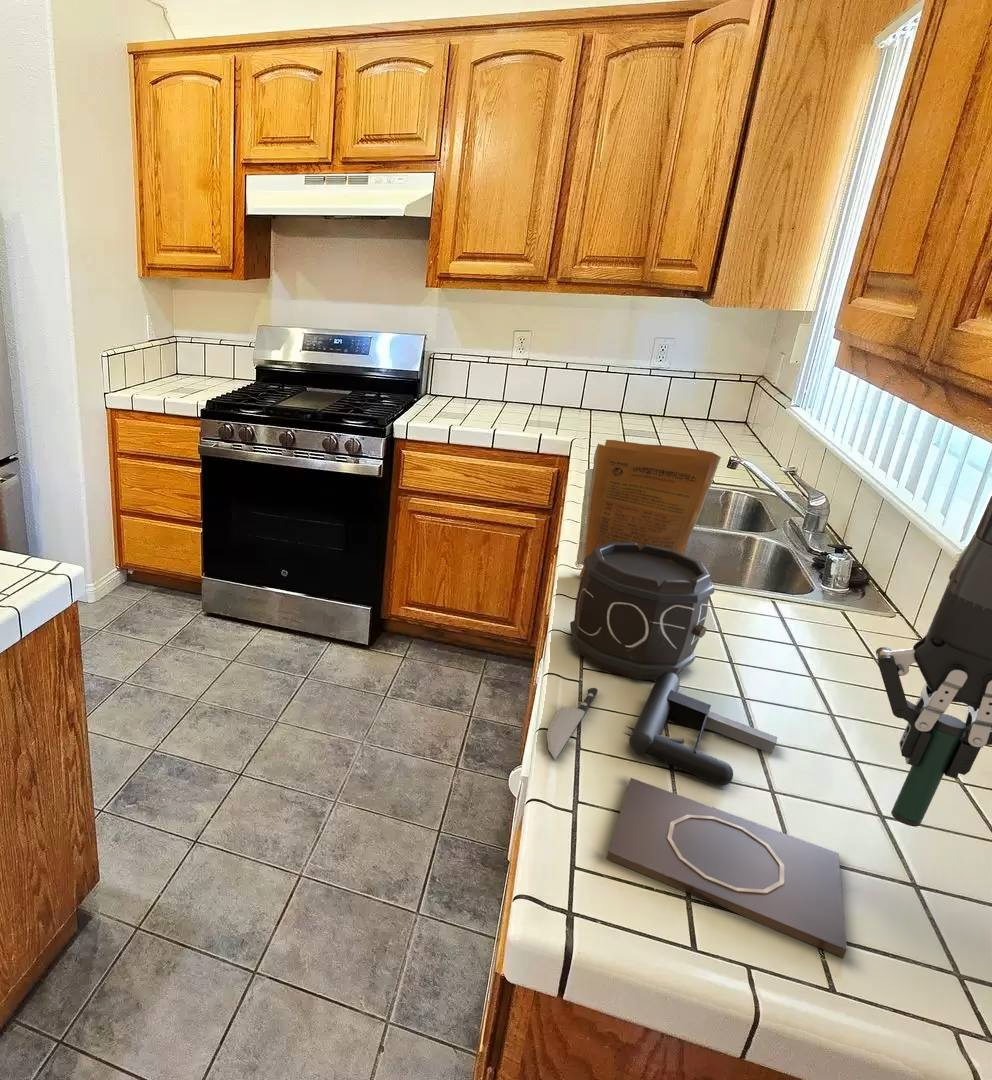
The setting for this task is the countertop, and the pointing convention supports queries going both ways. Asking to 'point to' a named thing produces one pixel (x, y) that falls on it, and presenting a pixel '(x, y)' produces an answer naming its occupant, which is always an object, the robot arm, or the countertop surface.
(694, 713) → the door handle
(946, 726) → the marker
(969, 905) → the countertop surface
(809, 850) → the drawing board
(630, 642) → the coffee canister
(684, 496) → the pancake mix bag
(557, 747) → the chef's knife
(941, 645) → the robot arm
